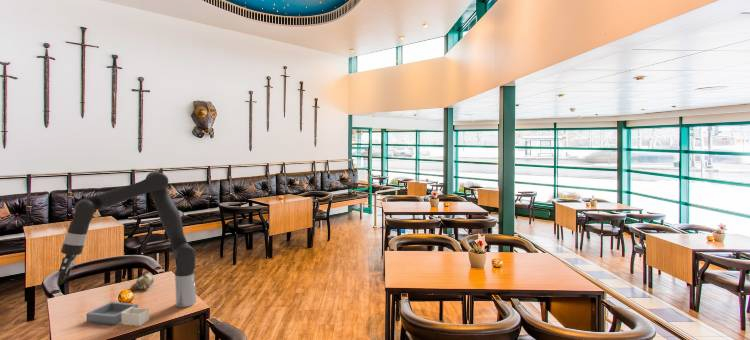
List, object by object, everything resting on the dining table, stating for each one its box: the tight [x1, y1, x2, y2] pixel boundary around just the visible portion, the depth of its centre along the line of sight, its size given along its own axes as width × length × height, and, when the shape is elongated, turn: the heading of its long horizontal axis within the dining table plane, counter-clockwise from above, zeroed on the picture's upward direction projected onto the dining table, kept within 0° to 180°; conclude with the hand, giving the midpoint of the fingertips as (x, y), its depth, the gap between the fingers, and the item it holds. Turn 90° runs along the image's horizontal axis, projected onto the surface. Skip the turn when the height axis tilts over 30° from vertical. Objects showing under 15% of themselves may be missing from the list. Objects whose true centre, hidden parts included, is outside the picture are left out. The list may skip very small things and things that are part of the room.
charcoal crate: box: [85, 301, 139, 326], centre depth 186 cm, size 14×16×4 cm
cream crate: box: [121, 307, 150, 327], centre depth 181 cm, size 6×10×6 cm, turn 80°
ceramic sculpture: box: [129, 272, 155, 291], centre depth 224 cm, size 11×9×15 cm
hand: (63, 278), depth 166 cm, fingers open, 8 cm apart
